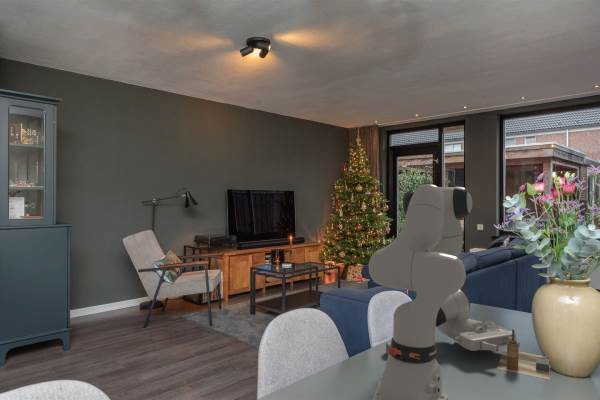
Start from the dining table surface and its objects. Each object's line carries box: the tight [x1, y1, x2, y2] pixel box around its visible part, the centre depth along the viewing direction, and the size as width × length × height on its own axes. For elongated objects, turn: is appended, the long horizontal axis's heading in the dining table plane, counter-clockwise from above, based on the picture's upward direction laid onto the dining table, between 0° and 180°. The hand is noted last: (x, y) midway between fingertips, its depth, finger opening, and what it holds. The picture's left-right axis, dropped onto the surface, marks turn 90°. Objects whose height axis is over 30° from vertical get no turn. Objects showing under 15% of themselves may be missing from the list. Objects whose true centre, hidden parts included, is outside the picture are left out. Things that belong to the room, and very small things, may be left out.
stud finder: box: [536, 355, 550, 372], centre depth 132 cm, size 6×4×2 cm, turn 149°
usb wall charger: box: [385, 341, 391, 356], centre depth 143 cm, size 4×7×4 cm, turn 91°
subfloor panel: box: [496, 348, 551, 381], centre depth 135 cm, size 20×14×1 cm
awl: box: [506, 329, 520, 370], centre depth 131 cm, size 3×3×12 cm
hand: (507, 347), depth 133 cm, fingers open, 8 cm apart
